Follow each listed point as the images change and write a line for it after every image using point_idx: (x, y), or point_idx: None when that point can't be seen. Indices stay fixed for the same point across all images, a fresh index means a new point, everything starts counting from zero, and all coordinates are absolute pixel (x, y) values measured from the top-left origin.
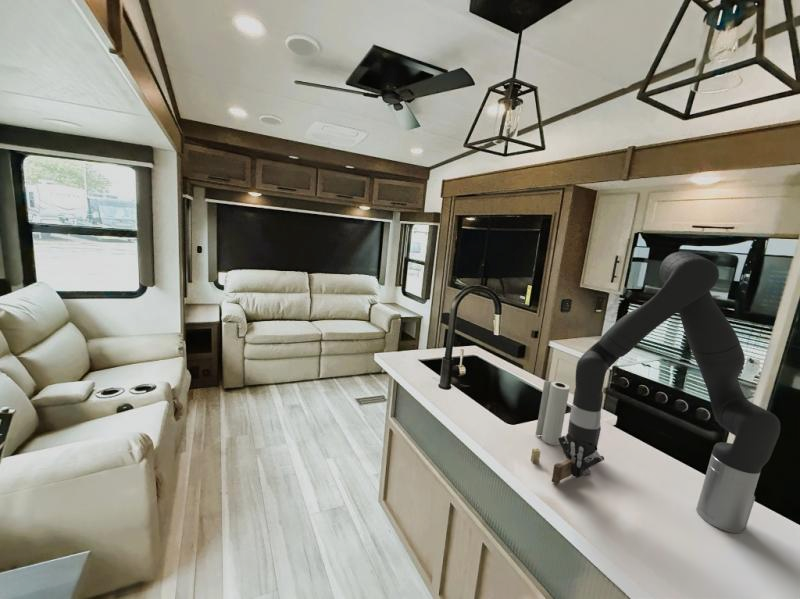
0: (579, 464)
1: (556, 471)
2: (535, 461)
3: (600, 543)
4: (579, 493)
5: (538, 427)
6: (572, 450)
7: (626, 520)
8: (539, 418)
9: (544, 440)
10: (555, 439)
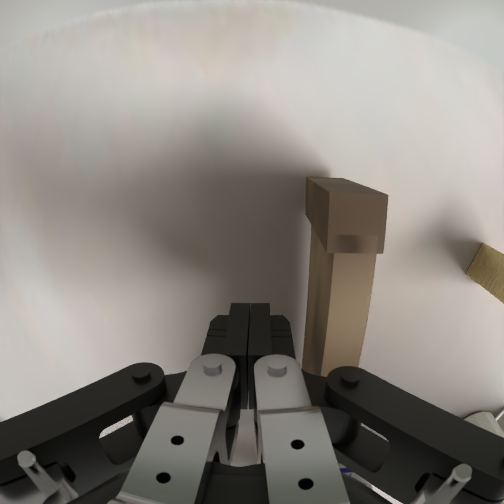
0: (201, 374)
1: (342, 187)
2: (479, 258)
3: (10, 73)
4: (197, 254)
5: None
6: (309, 469)
7: (29, 282)
8: None
9: (484, 414)
10: None
